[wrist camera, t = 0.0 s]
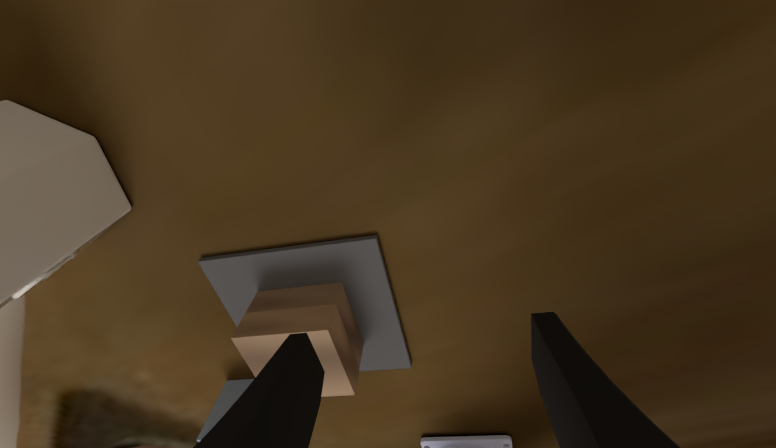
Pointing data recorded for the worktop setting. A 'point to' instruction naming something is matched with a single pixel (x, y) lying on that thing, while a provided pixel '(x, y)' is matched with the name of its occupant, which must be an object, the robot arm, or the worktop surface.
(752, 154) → the worktop surface
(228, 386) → the blue cube
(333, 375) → the slab upper
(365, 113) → the worktop surface
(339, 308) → the tan cardboard box
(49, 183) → the jar
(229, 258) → the mat
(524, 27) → the worktop surface
